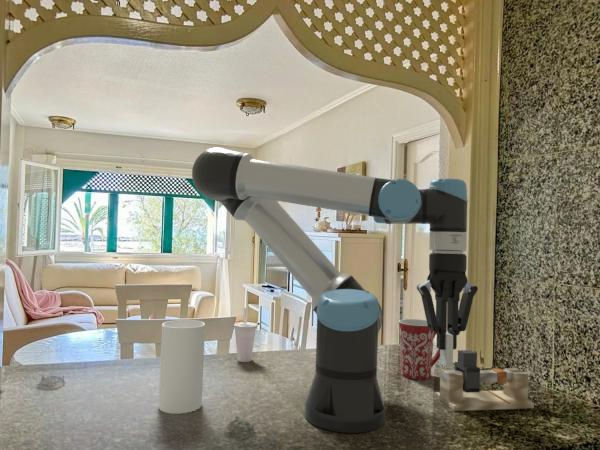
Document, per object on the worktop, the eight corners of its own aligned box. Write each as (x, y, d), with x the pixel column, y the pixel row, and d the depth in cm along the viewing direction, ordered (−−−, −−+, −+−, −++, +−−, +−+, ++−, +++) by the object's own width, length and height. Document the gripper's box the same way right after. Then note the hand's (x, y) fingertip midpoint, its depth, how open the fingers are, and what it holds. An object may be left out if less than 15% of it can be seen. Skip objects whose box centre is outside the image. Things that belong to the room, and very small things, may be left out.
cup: (198, 396, 93) (201, 319, 94) (204, 411, 86) (208, 326, 86) (157, 400, 90) (160, 320, 91) (159, 416, 83) (163, 328, 83)
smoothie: (247, 355, 126) (249, 305, 127) (260, 361, 121) (262, 309, 122) (227, 359, 122) (229, 307, 123) (240, 364, 117) (242, 311, 118)
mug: (404, 381, 108) (406, 325, 109) (392, 370, 117) (393, 318, 118) (454, 381, 110) (455, 325, 110) (438, 370, 119) (439, 318, 119)
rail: (453, 410, 90) (454, 377, 90) (435, 396, 98) (436, 365, 98) (534, 408, 93) (534, 375, 93) (509, 394, 101) (510, 364, 101)
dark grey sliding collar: (466, 392, 92) (467, 354, 93) (454, 384, 97) (454, 348, 97) (479, 392, 93) (480, 354, 93) (466, 384, 98) (467, 348, 98)
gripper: (426, 252, 90) (425, 370, 89) (486, 253, 92) (485, 369, 92) (411, 251, 98) (409, 360, 97) (466, 252, 100) (465, 359, 99)
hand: (446, 364), depth 94 cm, fingers closed
